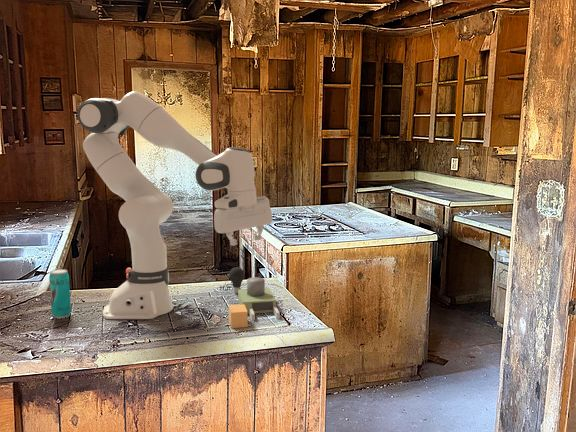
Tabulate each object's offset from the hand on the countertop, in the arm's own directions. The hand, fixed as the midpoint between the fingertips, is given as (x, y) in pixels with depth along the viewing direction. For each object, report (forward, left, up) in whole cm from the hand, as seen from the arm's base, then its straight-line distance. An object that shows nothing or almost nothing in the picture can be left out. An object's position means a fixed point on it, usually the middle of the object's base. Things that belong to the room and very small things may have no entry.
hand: (246, 242), depth 169 cm
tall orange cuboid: (-3, -6, -25) cm, 25 cm away
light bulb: (0, +24, -25) cm, 35 cm away
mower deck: (+5, +6, -24) cm, 25 cm away
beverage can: (-58, +11, -25) cm, 64 cm away
